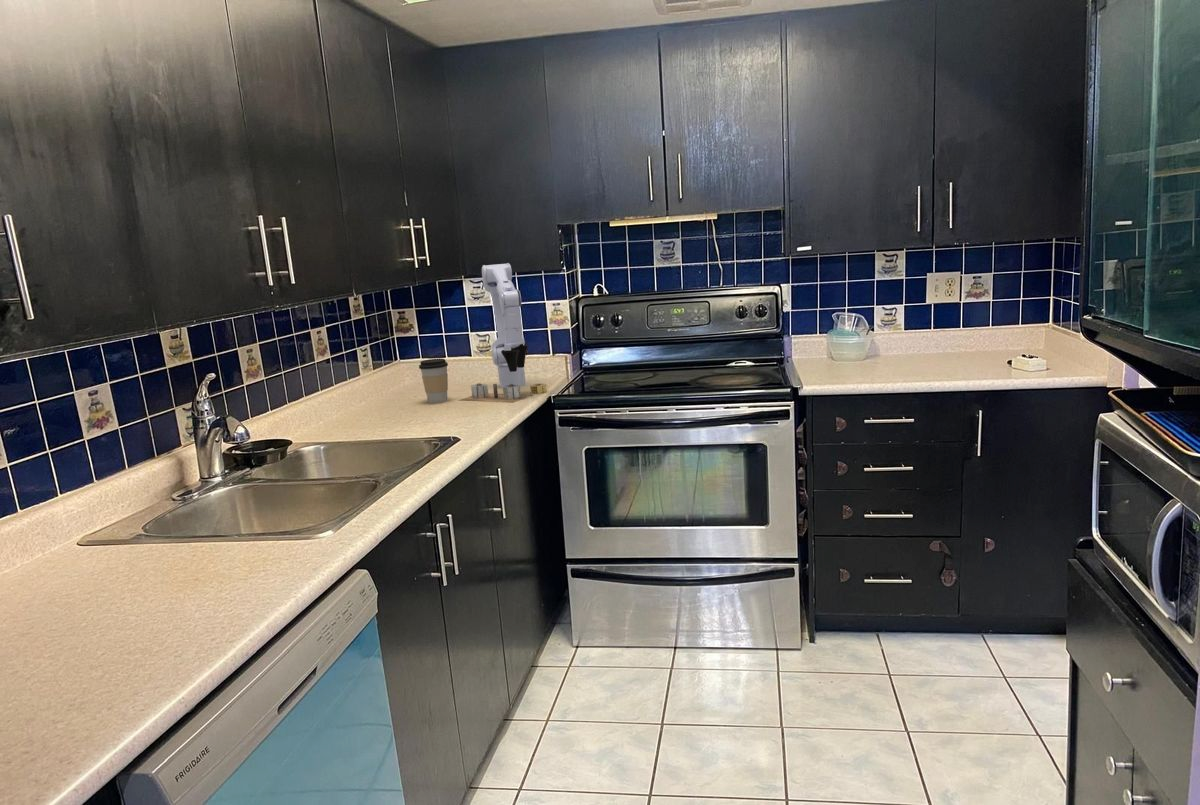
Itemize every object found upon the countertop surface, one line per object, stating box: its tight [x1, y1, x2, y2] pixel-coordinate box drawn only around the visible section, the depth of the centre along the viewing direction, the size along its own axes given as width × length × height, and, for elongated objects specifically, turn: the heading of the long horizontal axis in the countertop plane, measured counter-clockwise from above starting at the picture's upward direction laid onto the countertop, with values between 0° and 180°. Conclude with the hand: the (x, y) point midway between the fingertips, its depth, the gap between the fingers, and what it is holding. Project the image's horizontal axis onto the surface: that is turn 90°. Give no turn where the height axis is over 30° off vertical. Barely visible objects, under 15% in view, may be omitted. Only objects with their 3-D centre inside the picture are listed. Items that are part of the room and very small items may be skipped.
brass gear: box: [529, 383, 548, 395], centre depth 269 cm, size 5×5×4 cm
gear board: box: [458, 382, 534, 404], centre depth 266 cm, size 12×22×6 cm, turn 61°
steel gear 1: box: [470, 383, 489, 399], centre depth 269 cm, size 5×5×4 cm
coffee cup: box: [418, 358, 449, 404], centre depth 267 cm, size 9×9×15 cm
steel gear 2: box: [502, 384, 522, 400], centre depth 262 cm, size 5×5×4 cm
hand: (517, 369), depth 266 cm, fingers open, 7 cm apart
